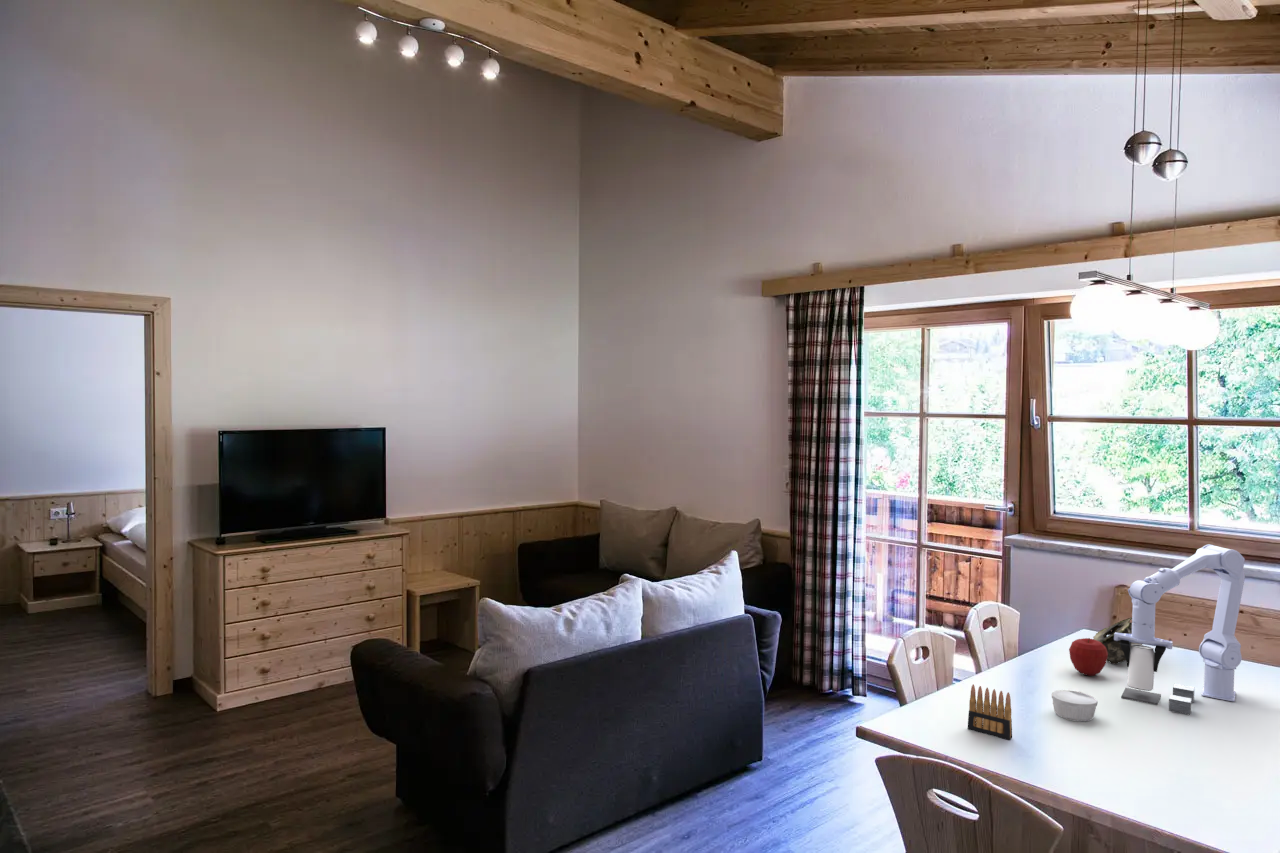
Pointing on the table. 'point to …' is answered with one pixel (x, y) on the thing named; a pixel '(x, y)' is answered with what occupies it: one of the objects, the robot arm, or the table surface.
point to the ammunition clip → (990, 714)
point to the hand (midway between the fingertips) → (1141, 668)
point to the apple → (1088, 656)
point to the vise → (1181, 699)
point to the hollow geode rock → (1112, 645)
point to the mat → (1141, 696)
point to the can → (1141, 667)
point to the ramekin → (1074, 705)
